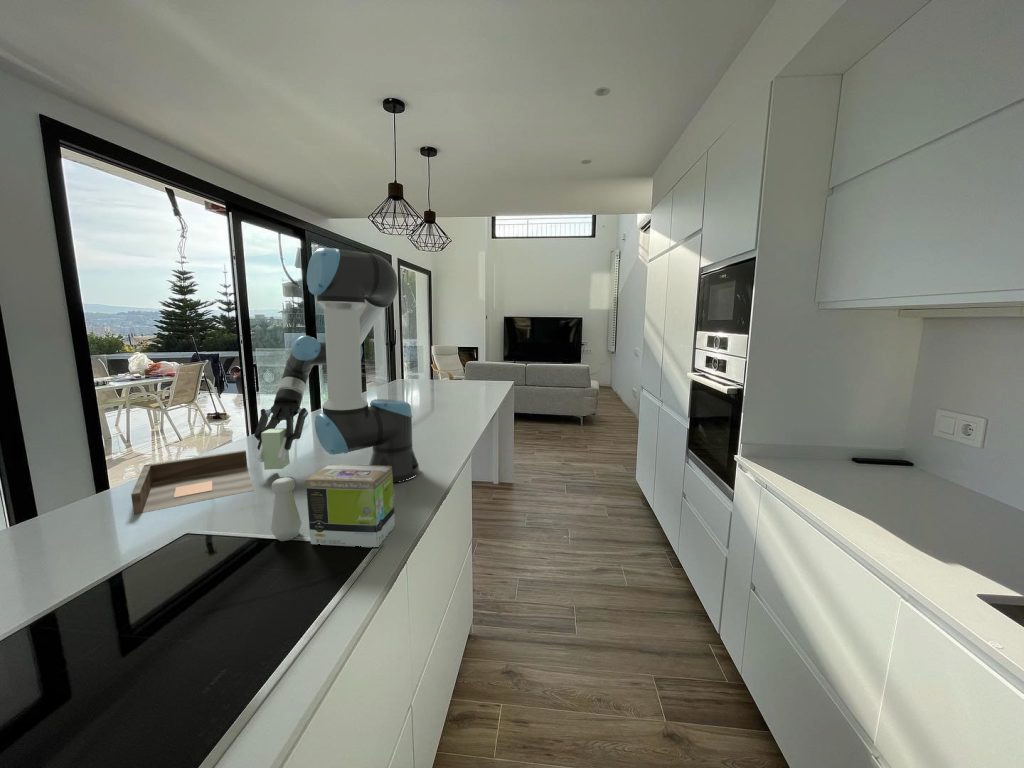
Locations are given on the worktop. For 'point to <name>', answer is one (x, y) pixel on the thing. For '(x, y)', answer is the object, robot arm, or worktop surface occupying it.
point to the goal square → (193, 489)
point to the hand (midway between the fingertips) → (270, 459)
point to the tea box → (350, 505)
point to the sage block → (273, 448)
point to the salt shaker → (285, 510)
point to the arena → (190, 480)
